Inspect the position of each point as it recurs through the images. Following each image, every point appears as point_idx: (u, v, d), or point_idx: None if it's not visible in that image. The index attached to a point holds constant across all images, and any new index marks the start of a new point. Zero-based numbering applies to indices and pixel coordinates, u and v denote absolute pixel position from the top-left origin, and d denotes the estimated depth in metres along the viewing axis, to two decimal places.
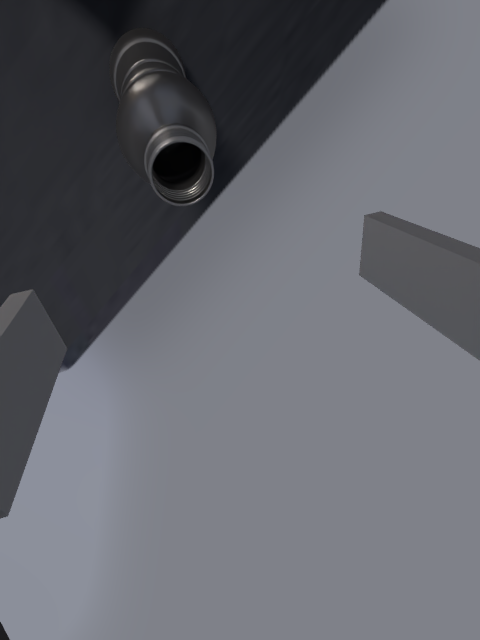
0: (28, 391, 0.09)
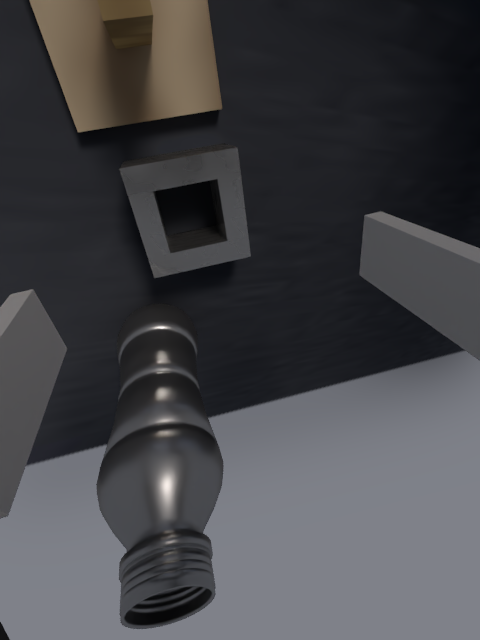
0: (29, 391, 0.09)
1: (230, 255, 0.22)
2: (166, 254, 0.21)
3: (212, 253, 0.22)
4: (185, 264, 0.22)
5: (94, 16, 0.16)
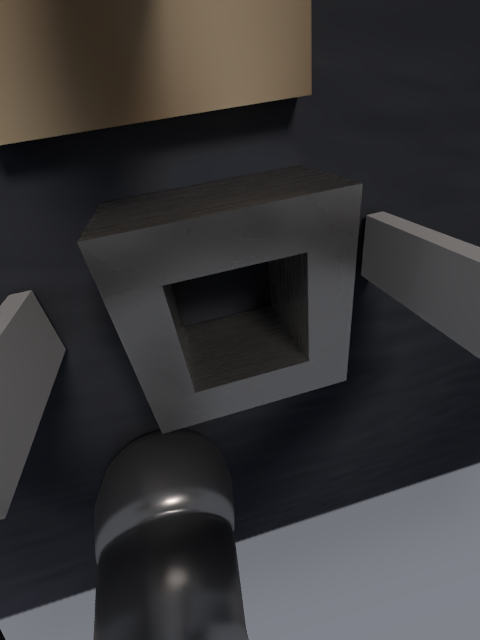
0: (27, 392, 0.09)
1: (310, 382, 0.11)
2: (187, 393, 0.10)
3: (278, 383, 0.11)
4: (224, 406, 0.11)
5: None
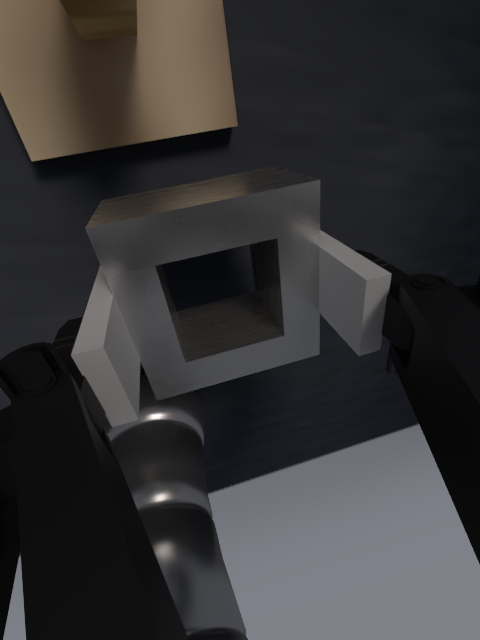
0: None
1: (286, 355, 0.13)
2: (178, 363, 0.12)
3: (258, 355, 0.13)
4: (211, 375, 0.12)
5: None
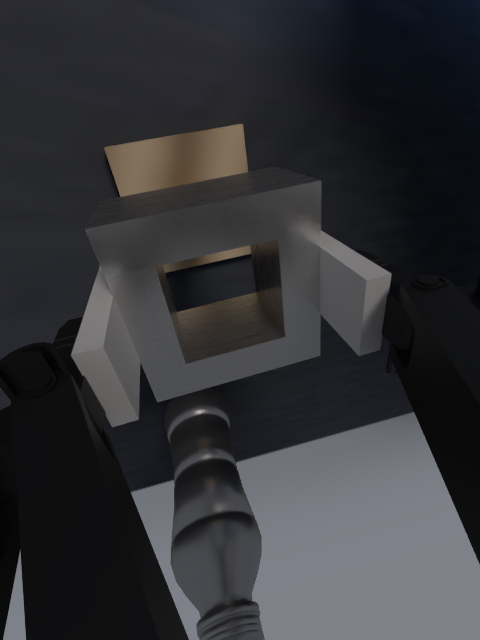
0: None
1: (287, 357, 0.13)
2: (178, 365, 0.12)
3: (258, 357, 0.12)
4: (211, 377, 0.12)
5: None
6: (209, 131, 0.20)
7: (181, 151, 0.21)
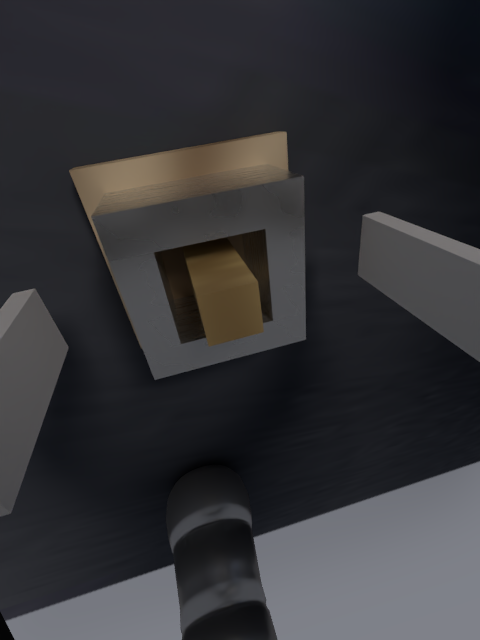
0: (31, 389, 0.09)
1: (275, 339, 0.14)
2: (174, 345, 0.13)
3: (248, 339, 0.14)
4: (204, 357, 0.14)
5: (169, 253, 0.15)
6: (235, 143, 0.13)
7: (191, 174, 0.13)
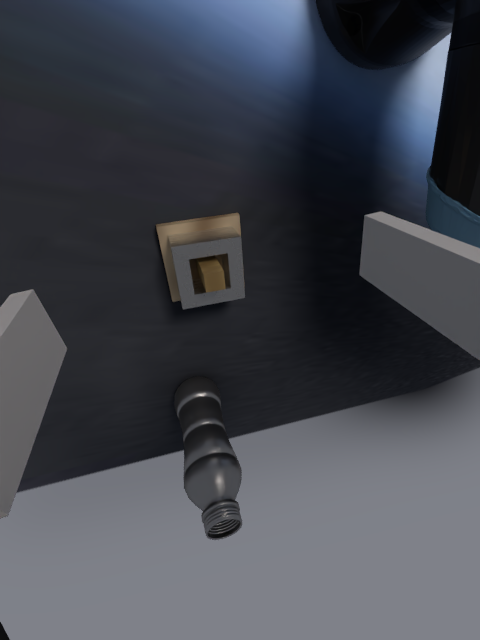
0: (28, 391, 0.09)
1: (232, 296, 0.35)
2: (192, 295, 0.33)
3: (221, 295, 0.34)
4: (203, 301, 0.34)
5: (189, 259, 0.35)
6: (219, 218, 0.34)
7: (201, 229, 0.34)
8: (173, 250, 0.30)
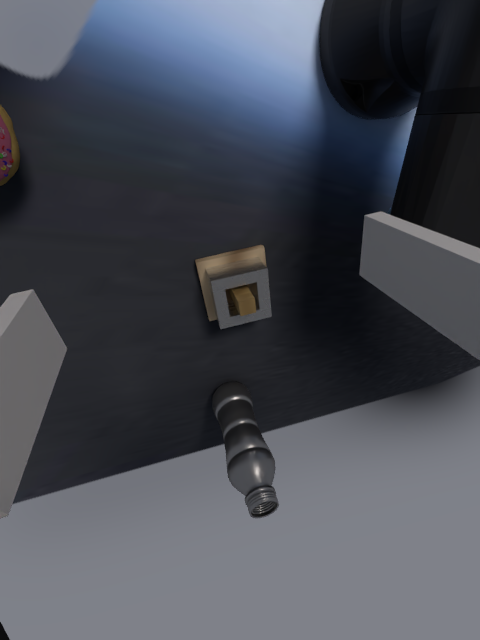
0: (28, 391, 0.09)
1: (260, 316, 0.41)
2: (227, 317, 0.40)
3: (251, 316, 0.40)
4: (237, 322, 0.40)
5: None
6: (247, 251, 0.40)
7: (232, 261, 0.40)
8: (212, 283, 0.37)
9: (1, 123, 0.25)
